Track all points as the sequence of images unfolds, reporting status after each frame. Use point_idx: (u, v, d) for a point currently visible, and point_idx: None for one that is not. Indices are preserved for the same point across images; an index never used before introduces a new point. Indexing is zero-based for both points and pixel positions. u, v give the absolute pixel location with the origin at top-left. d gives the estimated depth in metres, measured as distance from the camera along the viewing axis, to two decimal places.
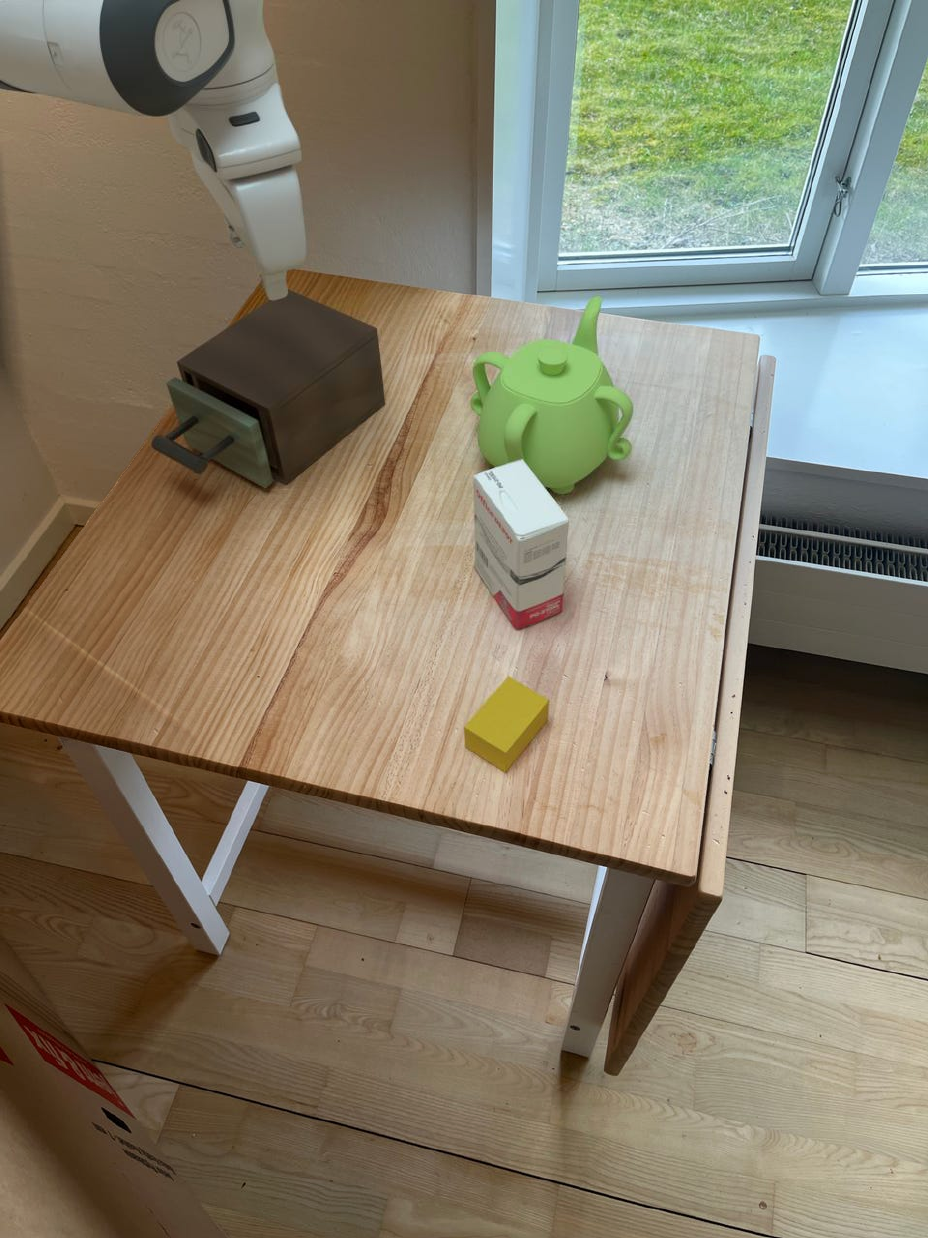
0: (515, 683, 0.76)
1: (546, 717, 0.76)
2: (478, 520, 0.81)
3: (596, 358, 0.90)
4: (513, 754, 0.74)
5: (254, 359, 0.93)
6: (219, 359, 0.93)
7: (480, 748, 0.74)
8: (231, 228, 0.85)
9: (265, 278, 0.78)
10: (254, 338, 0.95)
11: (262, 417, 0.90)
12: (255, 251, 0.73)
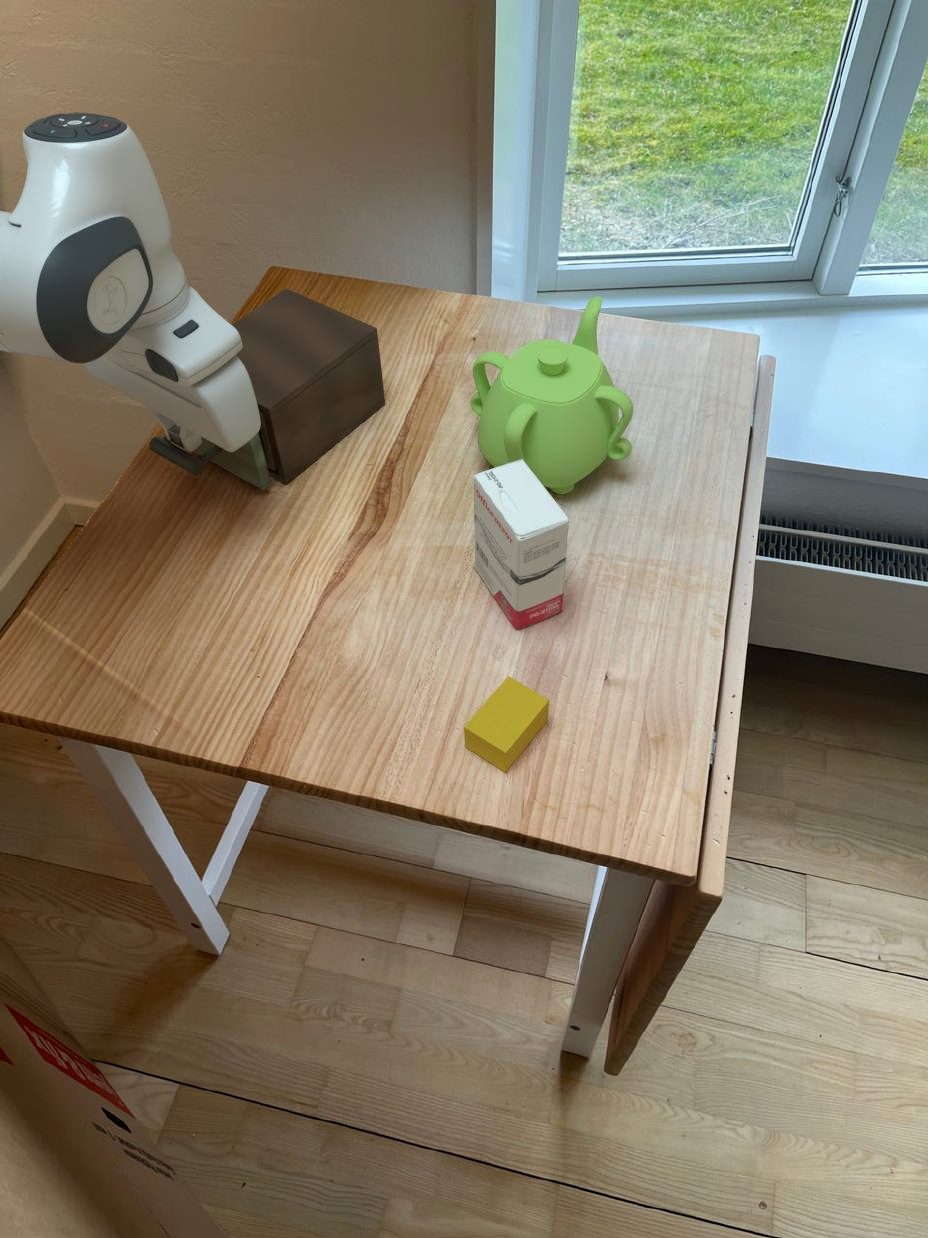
0: (515, 683, 0.76)
1: (546, 717, 0.76)
2: (478, 520, 0.81)
3: (596, 357, 0.90)
4: (513, 754, 0.74)
5: (254, 359, 0.93)
6: None
7: (480, 748, 0.74)
8: (171, 431, 0.88)
9: (185, 436, 0.87)
10: (254, 338, 0.95)
11: (260, 419, 0.90)
12: (223, 436, 0.80)
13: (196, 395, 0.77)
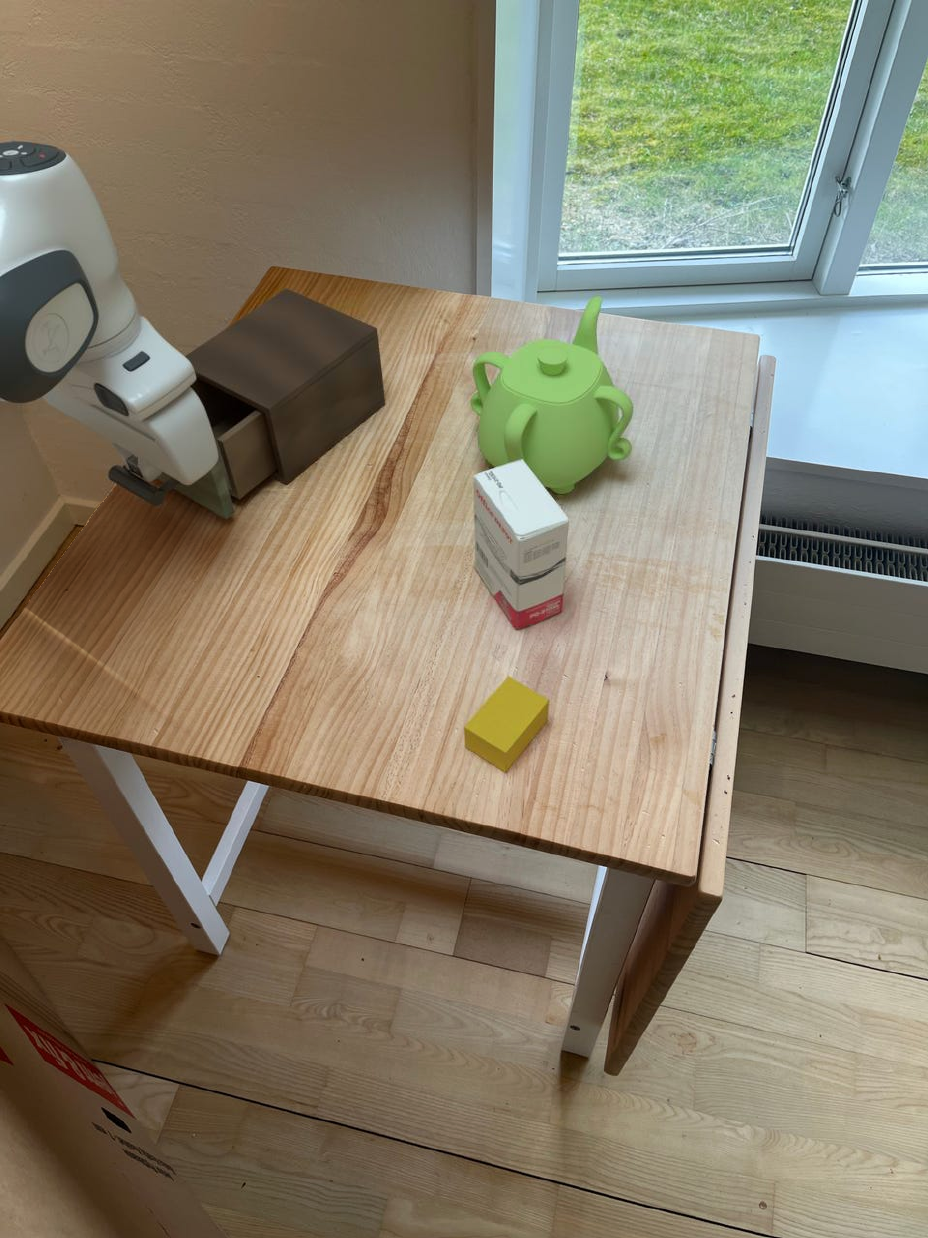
0: (515, 683, 0.76)
1: (546, 717, 0.76)
2: (478, 520, 0.81)
3: (596, 357, 0.90)
4: (513, 754, 0.74)
5: (254, 359, 0.93)
6: (219, 359, 0.93)
7: (480, 748, 0.74)
8: (130, 460, 0.86)
9: (143, 466, 0.84)
10: (254, 338, 0.95)
11: (222, 447, 0.88)
12: (178, 470, 0.77)
13: (148, 429, 0.74)
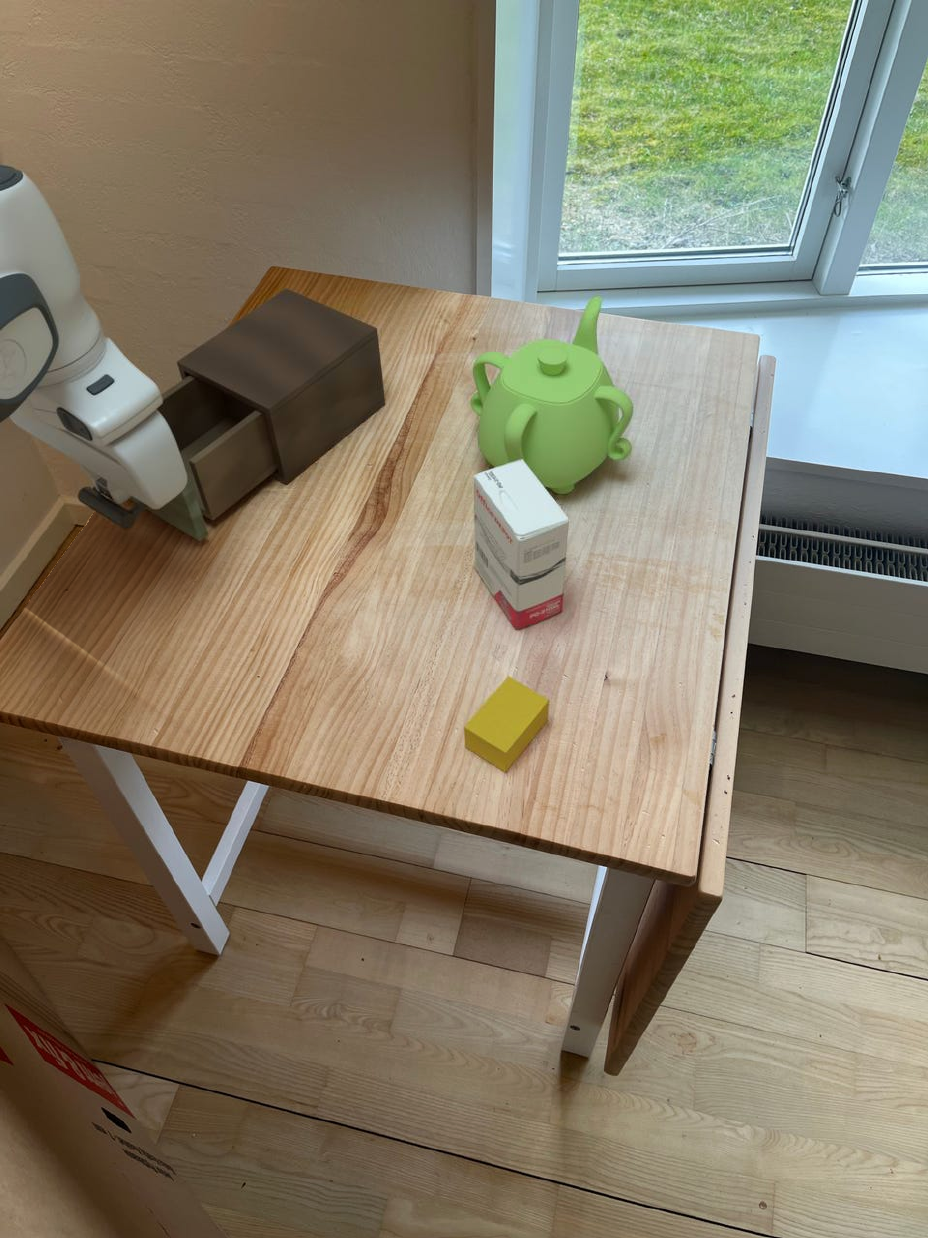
0: (515, 683, 0.76)
1: (546, 717, 0.76)
2: (478, 520, 0.81)
3: (596, 357, 0.90)
4: (513, 754, 0.74)
5: (254, 359, 0.93)
6: (219, 359, 0.93)
7: (480, 748, 0.74)
8: (100, 482, 0.84)
9: (113, 489, 0.83)
10: (254, 338, 0.95)
11: (193, 469, 0.86)
12: (145, 494, 0.76)
13: (113, 454, 0.73)
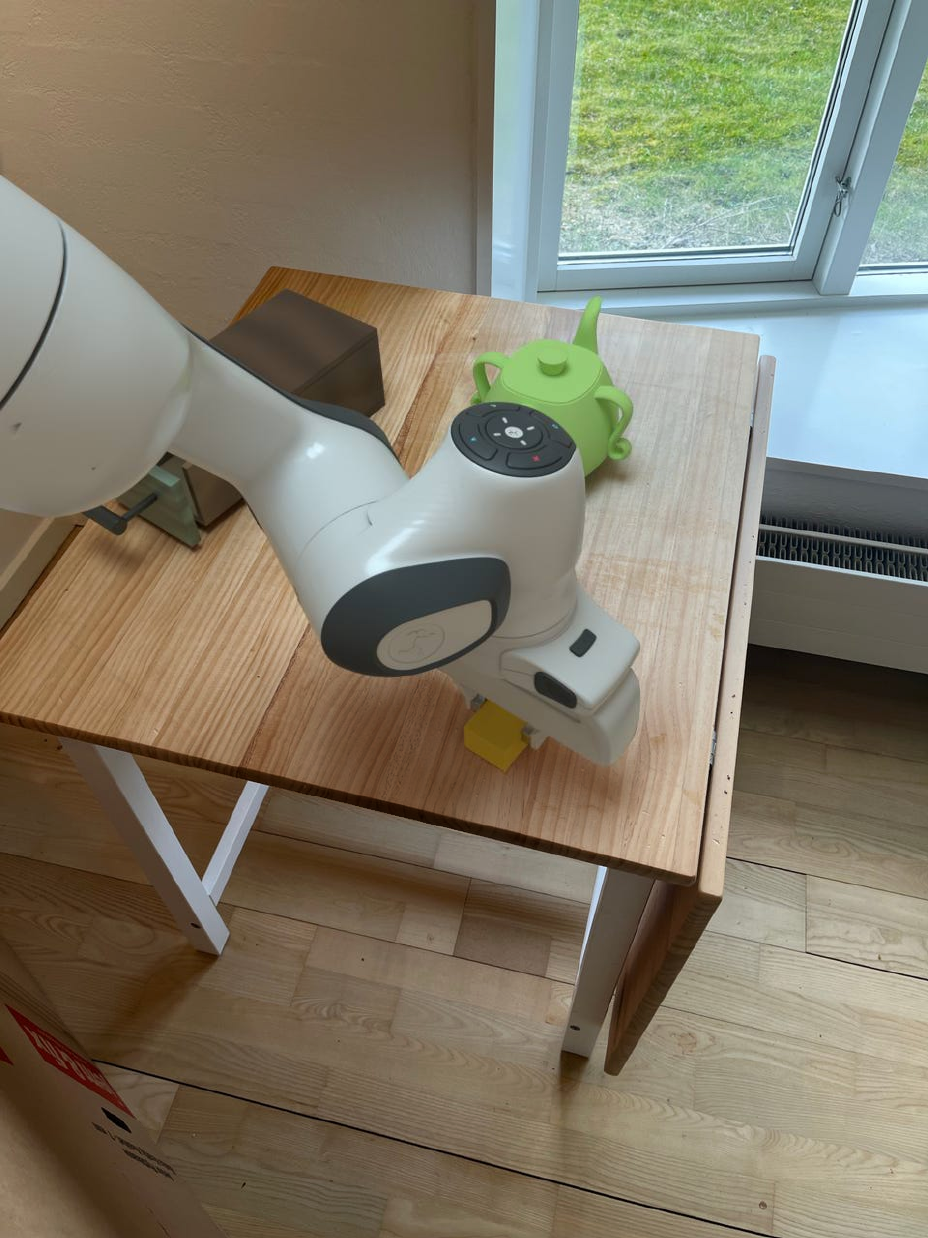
0: None
1: None
2: None
3: (596, 357, 0.90)
4: (513, 754, 0.74)
5: (254, 359, 0.93)
6: None
7: (479, 747, 0.74)
8: (477, 702, 0.74)
9: (541, 739, 0.71)
10: (254, 338, 0.95)
11: (186, 474, 0.85)
12: (604, 757, 0.65)
13: (589, 721, 0.62)
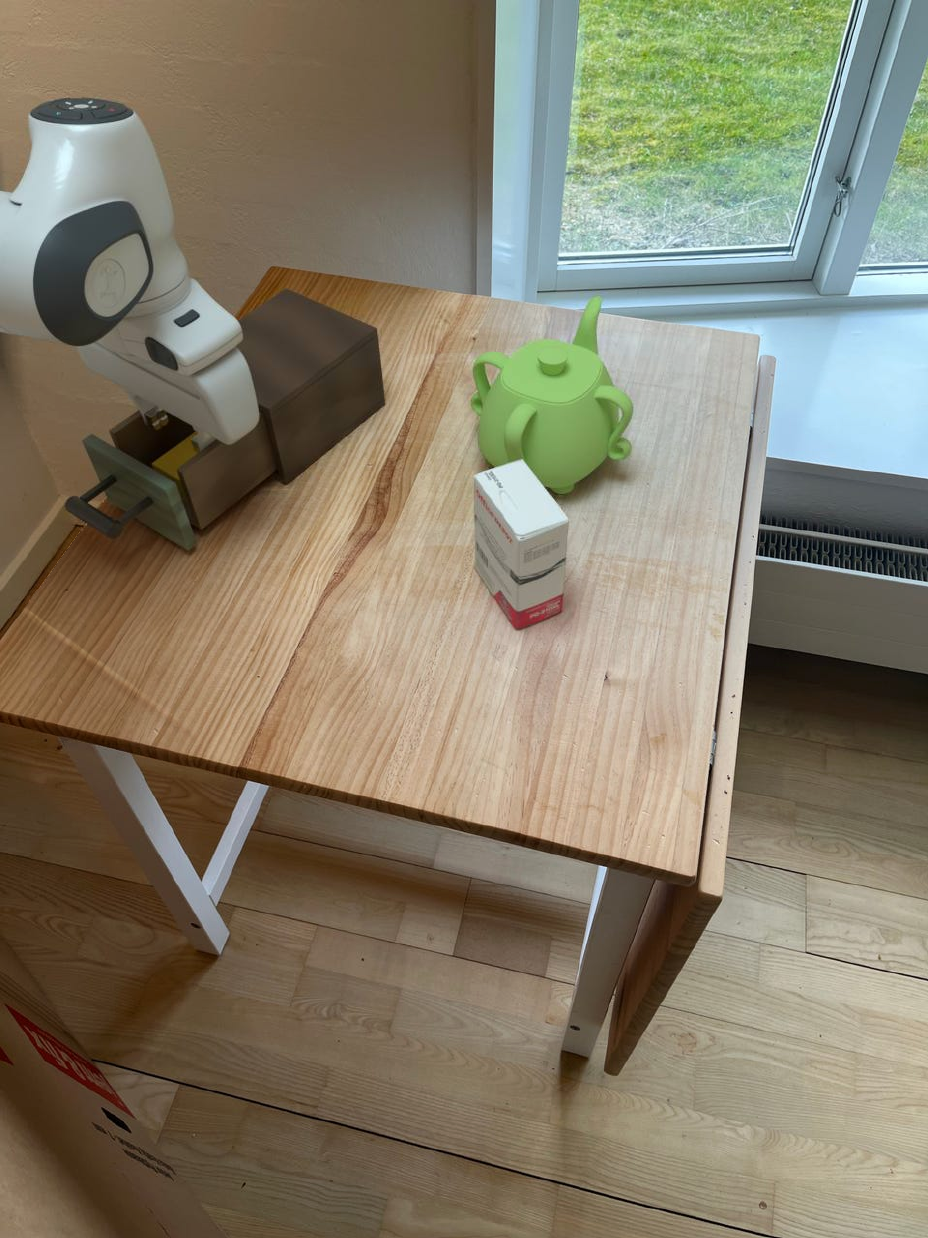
0: None
1: None
2: (478, 520, 0.81)
3: (596, 357, 0.90)
4: None
5: (254, 359, 0.93)
6: None
7: None
8: (149, 414, 0.89)
9: (203, 441, 0.85)
10: (254, 338, 0.95)
11: (181, 478, 0.85)
12: (221, 427, 0.79)
13: (195, 385, 0.76)
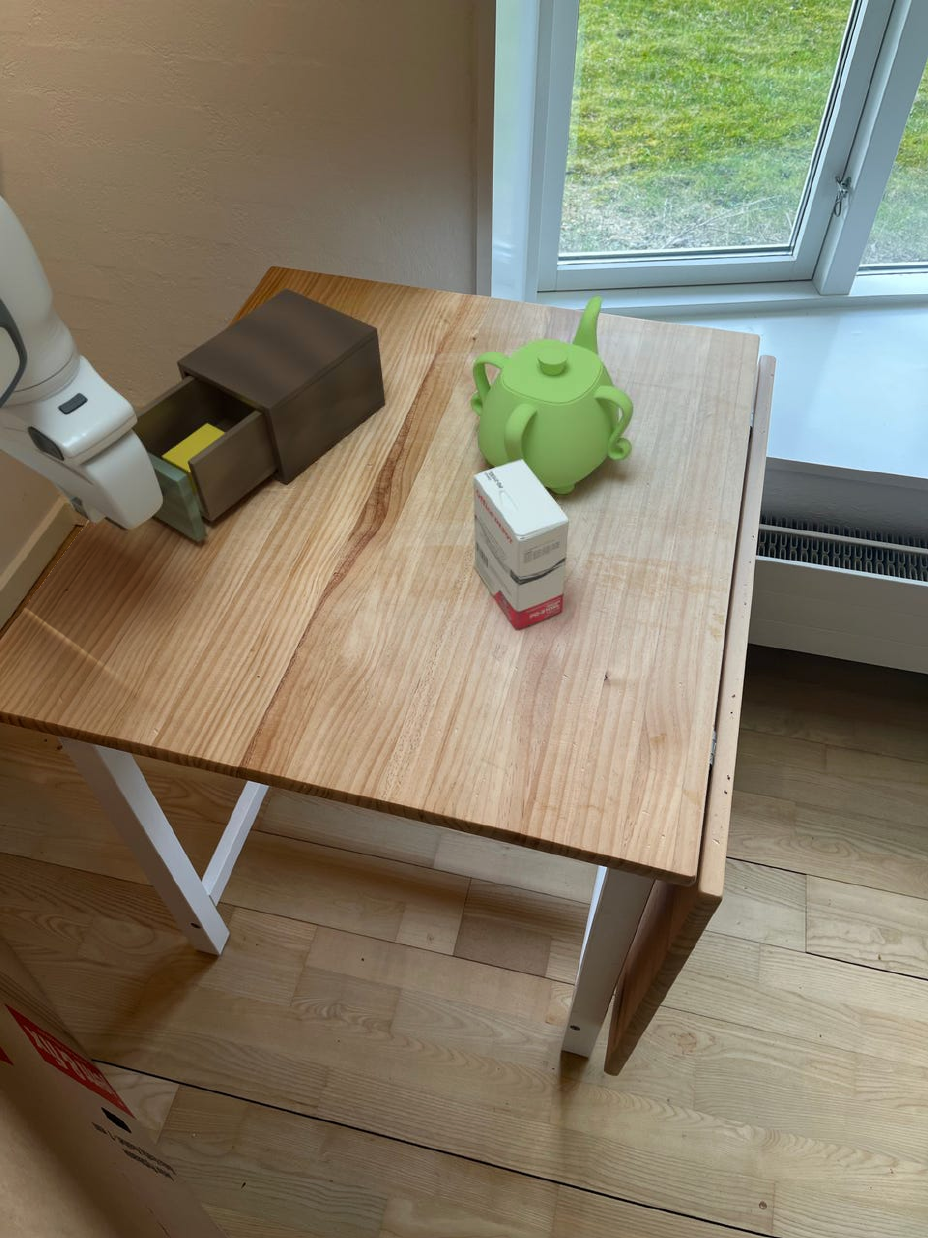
0: (211, 428, 0.93)
1: None
2: (478, 520, 0.81)
3: (596, 357, 0.90)
4: None
5: (254, 359, 0.93)
6: (219, 359, 0.93)
7: None
8: (75, 501, 0.83)
9: (88, 508, 0.81)
10: (254, 338, 0.95)
11: (192, 470, 0.86)
12: (119, 515, 0.74)
13: (85, 474, 0.71)
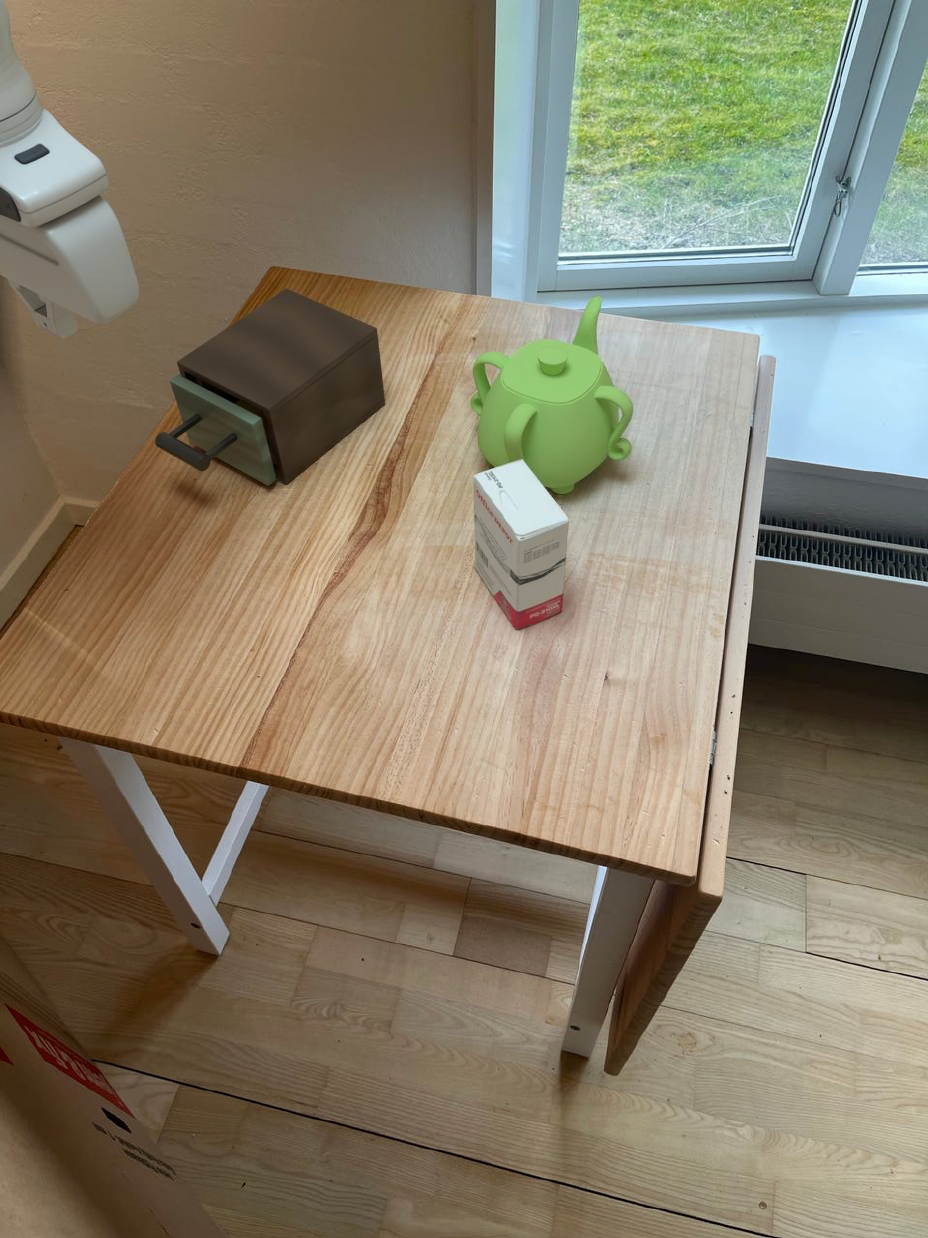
0: None
1: None
2: (478, 520, 0.81)
3: (596, 357, 0.90)
4: None
5: (254, 359, 0.93)
6: (219, 359, 0.93)
7: None
8: (39, 311, 0.72)
9: (53, 315, 0.70)
10: (254, 338, 0.95)
11: None
12: (87, 301, 0.63)
13: (46, 241, 0.60)
